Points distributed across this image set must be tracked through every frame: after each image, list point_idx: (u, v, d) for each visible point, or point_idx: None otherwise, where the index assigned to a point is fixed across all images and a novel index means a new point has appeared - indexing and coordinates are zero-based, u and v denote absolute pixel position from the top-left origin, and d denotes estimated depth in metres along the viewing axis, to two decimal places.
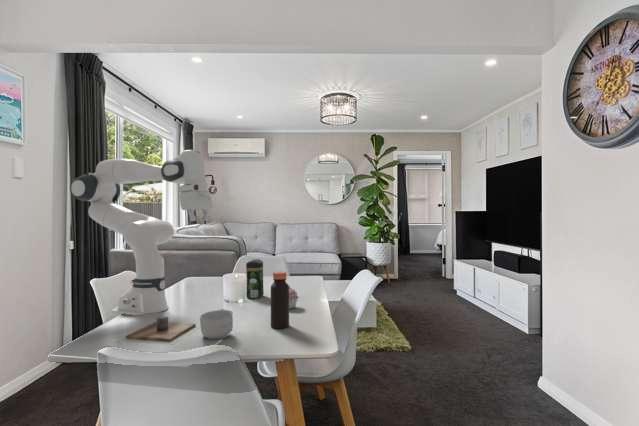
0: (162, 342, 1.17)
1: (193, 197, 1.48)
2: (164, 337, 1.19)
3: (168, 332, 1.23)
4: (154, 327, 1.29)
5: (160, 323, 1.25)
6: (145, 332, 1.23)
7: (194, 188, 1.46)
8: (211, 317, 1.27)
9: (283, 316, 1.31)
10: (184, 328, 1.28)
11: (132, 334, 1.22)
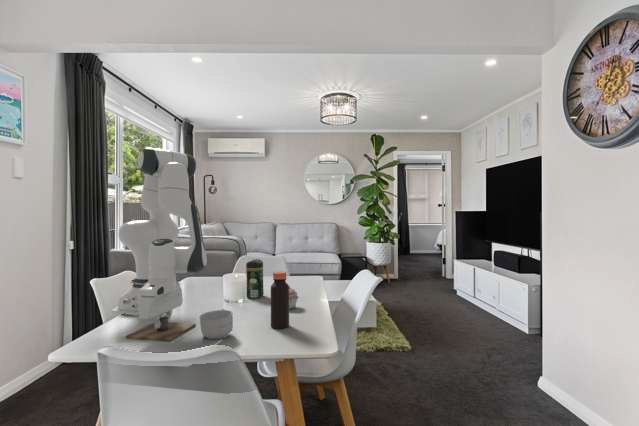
0: (162, 342, 1.17)
1: (156, 302, 1.21)
2: (164, 337, 1.19)
3: (169, 332, 1.23)
4: (154, 327, 1.29)
5: None
6: (146, 332, 1.23)
7: (158, 293, 1.19)
8: (211, 317, 1.27)
9: (283, 316, 1.31)
10: (184, 328, 1.28)
11: (132, 334, 1.22)
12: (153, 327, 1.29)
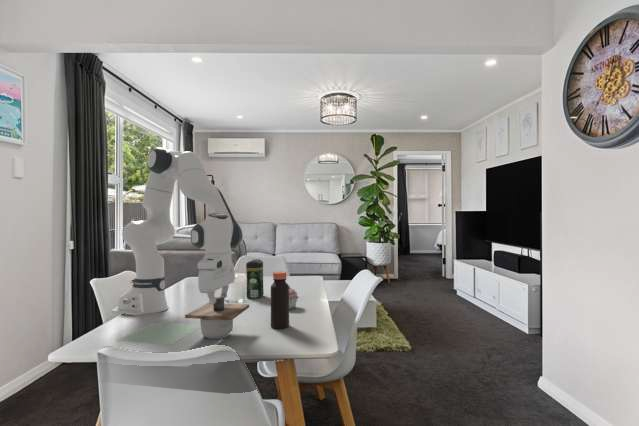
0: (162, 342, 1.17)
1: (214, 276, 1.19)
2: (225, 316, 1.17)
3: (227, 312, 1.21)
4: (209, 308, 1.27)
5: (217, 302, 1.23)
6: (203, 312, 1.21)
7: (217, 266, 1.17)
8: None
9: (283, 316, 1.31)
10: (240, 308, 1.26)
11: (190, 313, 1.20)
12: (208, 307, 1.27)
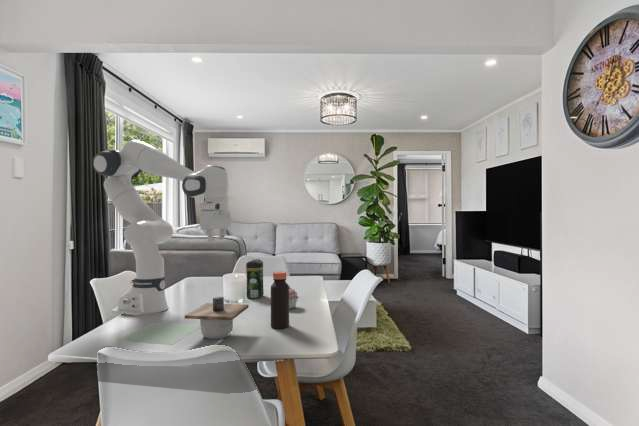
0: (162, 342, 1.17)
1: (213, 216, 1.40)
2: (225, 316, 1.17)
3: (227, 312, 1.21)
4: (208, 308, 1.26)
5: (216, 302, 1.23)
6: (203, 312, 1.21)
7: (215, 207, 1.38)
8: None
9: (283, 316, 1.31)
10: (240, 308, 1.26)
11: (190, 314, 1.19)
12: (207, 308, 1.27)
